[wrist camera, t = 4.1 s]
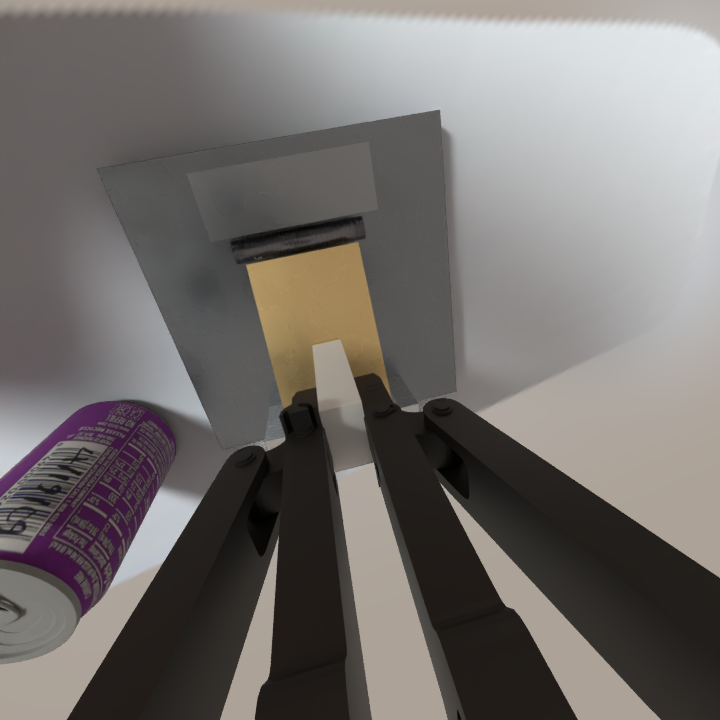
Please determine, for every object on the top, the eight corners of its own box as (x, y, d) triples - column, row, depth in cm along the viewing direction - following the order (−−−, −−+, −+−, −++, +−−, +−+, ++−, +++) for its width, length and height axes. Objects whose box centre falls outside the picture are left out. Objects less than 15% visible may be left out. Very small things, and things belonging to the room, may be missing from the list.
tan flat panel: (290, 459, 20) (286, 476, 17) (234, 244, 18) (222, 232, 16) (403, 430, 20) (414, 443, 18) (359, 219, 19) (364, 205, 16)
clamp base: (226, 437, 25) (208, 491, 20) (111, 172, 18) (40, 155, 13) (448, 382, 27) (482, 420, 22) (429, 117, 19) (475, 83, 14)
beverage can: (44, 431, 23) (-185, 626, 12) (125, 376, 22) (-38, 528, 11) (127, 491, 26) (5, 690, 15) (200, 444, 25) (128, 615, 14)
